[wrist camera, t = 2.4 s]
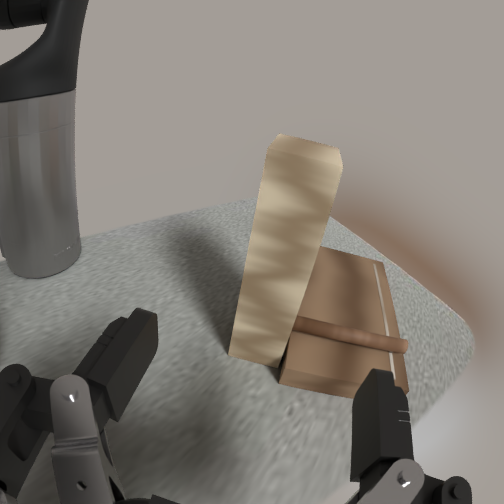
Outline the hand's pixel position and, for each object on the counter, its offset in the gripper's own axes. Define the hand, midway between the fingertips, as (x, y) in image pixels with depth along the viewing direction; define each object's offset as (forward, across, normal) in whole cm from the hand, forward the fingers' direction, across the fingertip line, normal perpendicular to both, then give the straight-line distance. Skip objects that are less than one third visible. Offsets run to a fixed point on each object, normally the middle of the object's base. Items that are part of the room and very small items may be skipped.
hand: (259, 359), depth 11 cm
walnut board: (+17, -7, +11) cm, 21 cm away
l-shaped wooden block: (+11, -5, +11) cm, 16 cm away
